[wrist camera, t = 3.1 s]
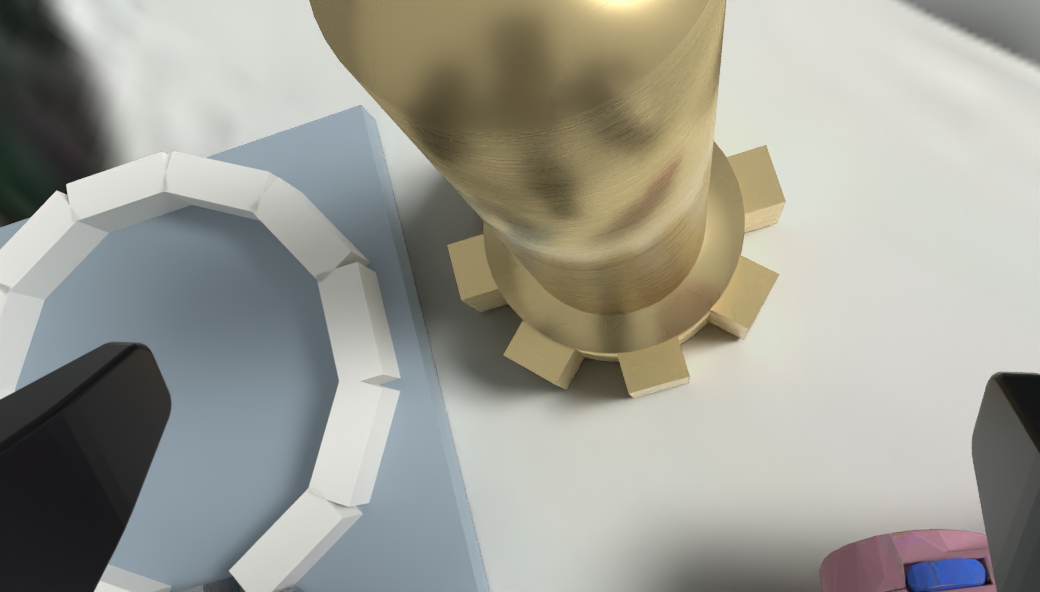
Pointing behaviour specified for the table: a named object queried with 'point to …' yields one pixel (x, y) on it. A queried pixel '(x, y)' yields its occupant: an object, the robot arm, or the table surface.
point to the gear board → (257, 363)
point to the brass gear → (577, 167)
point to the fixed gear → (225, 587)
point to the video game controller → (911, 563)
